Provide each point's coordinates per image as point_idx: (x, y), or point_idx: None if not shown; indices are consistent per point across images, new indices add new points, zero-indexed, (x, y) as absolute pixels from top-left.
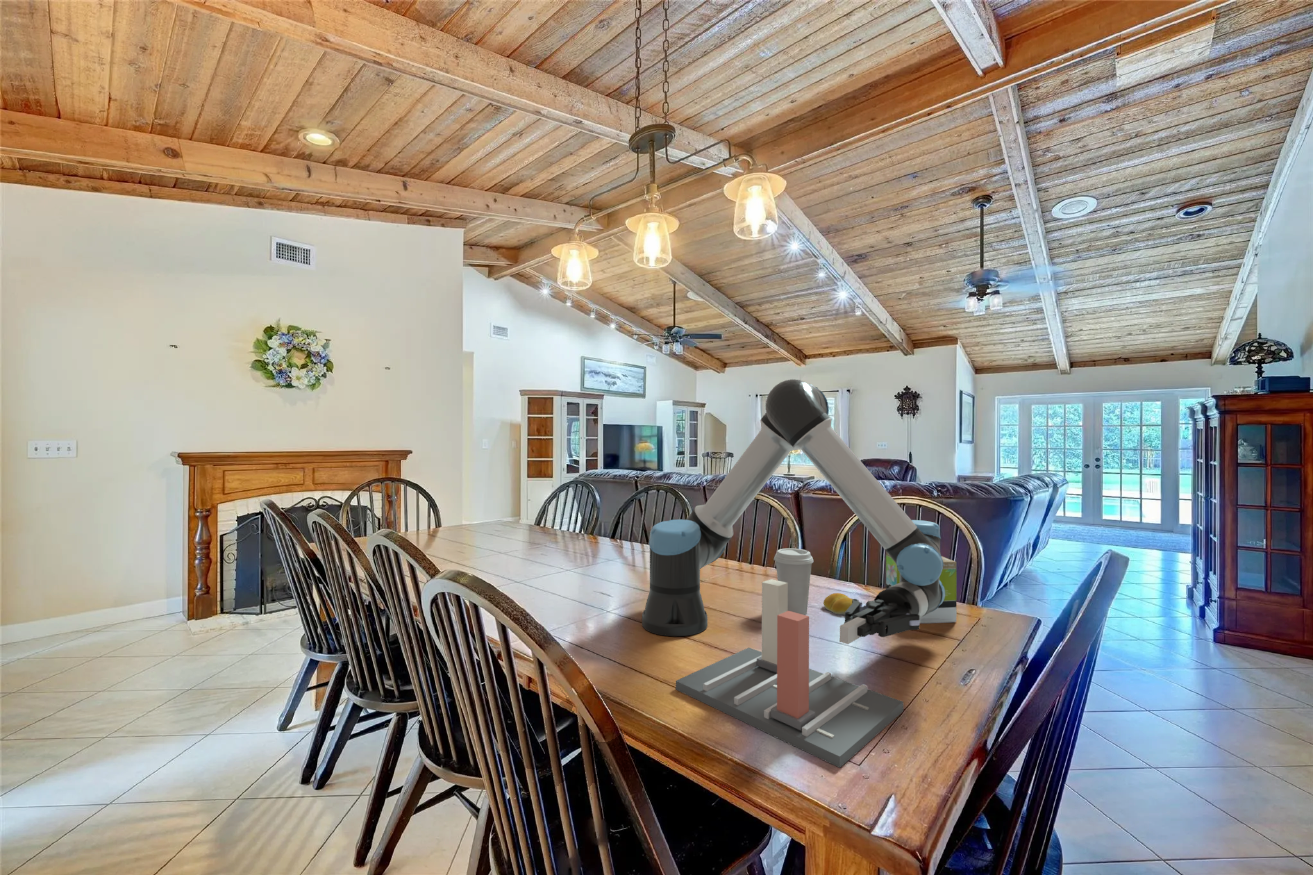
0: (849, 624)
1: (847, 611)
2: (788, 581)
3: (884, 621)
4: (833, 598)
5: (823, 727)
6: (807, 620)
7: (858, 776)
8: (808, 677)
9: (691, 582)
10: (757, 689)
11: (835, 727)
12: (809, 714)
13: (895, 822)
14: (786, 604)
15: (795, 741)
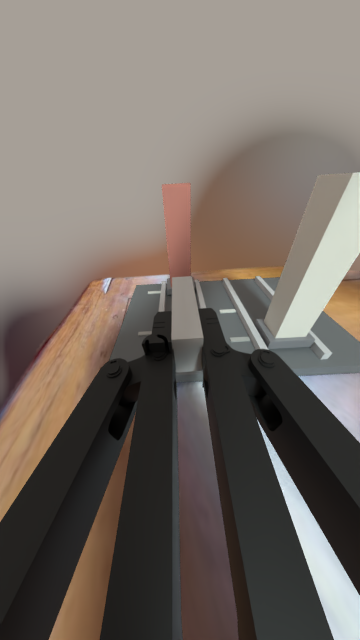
0: (181, 288)
1: (274, 359)
2: None
3: (105, 383)
4: None
5: (159, 296)
6: (162, 189)
7: (126, 292)
8: (168, 258)
9: None
10: (229, 292)
11: (152, 300)
12: (167, 285)
13: (102, 283)
14: (317, 241)
15: None
